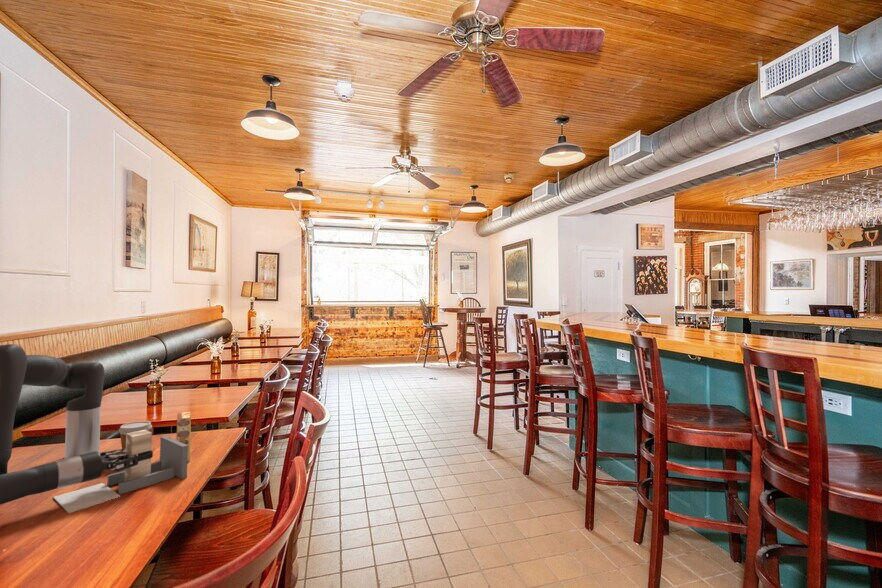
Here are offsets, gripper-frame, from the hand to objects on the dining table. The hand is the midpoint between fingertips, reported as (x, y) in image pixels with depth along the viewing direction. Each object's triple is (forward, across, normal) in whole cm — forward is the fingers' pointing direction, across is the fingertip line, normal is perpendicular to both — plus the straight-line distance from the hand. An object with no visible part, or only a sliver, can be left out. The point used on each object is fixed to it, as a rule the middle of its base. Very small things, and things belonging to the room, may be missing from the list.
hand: (148, 451), depth 126 cm
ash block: (-3, 0, +8) cm, 9 cm away
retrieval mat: (-15, 0, +8) cm, 17 cm away
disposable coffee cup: (+4, +23, +9) cm, 25 cm away
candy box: (+14, +10, +9) cm, 20 cm away
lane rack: (0, 0, +9) cm, 9 cm away
